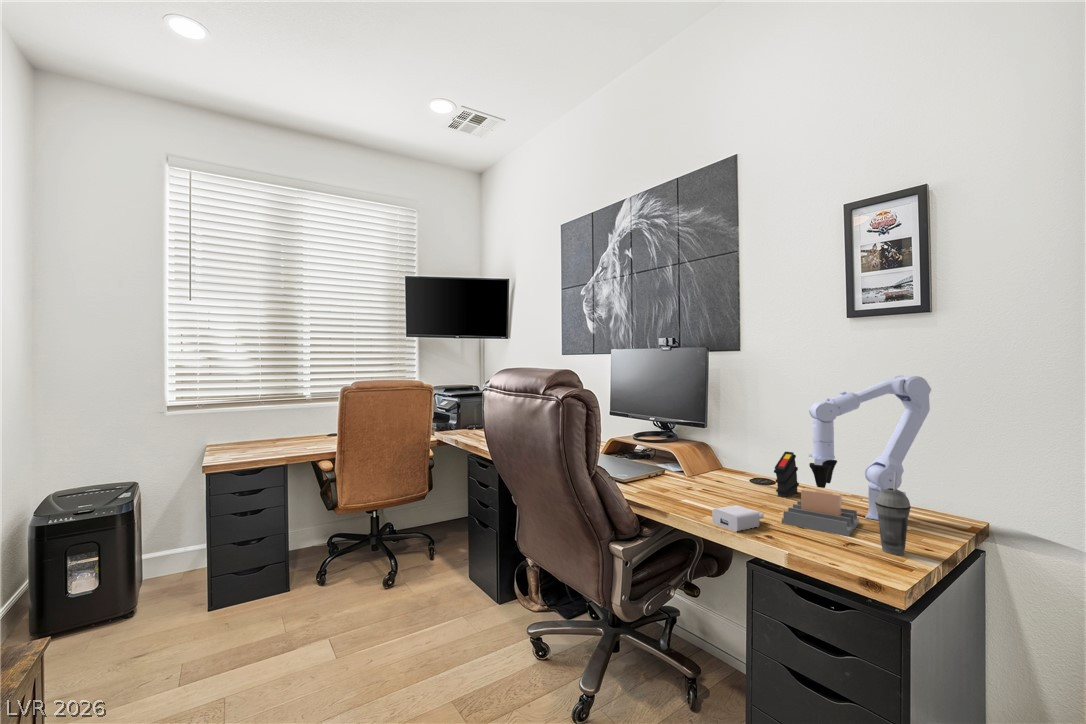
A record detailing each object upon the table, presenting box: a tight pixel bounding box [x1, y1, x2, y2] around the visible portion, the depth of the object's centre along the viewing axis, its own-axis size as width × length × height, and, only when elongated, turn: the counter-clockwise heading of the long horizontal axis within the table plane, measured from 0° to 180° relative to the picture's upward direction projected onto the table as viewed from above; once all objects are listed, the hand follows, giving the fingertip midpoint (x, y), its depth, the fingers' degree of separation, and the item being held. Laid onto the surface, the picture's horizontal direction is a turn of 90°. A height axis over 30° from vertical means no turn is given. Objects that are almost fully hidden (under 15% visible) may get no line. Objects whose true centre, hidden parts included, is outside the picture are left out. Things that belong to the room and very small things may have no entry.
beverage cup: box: [875, 472, 911, 556], centre depth 123 cm, size 7×7×20 cm
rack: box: [781, 500, 860, 537], centre depth 145 cm, size 17×15×4 cm
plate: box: [800, 488, 842, 516], centre depth 145 cm, size 10×3×8 cm, turn 48°
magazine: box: [773, 451, 800, 498], centre depth 178 cm, size 4×13×15 cm, turn 133°
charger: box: [711, 504, 765, 533], centre depth 145 cm, size 5×9×15 cm
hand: (823, 485), depth 153 cm, fingers open, 7 cm apart
